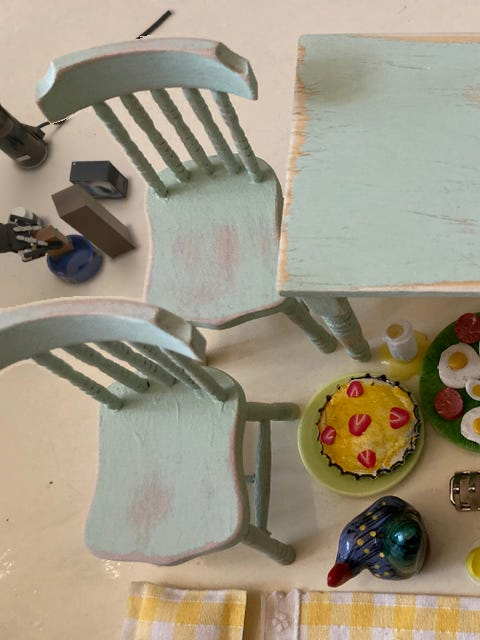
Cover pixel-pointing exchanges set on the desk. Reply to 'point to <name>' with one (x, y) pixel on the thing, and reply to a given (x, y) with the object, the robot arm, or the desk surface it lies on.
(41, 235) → the reddish-brown short block
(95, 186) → the small box
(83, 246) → the bowl
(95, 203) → the brown rectangular block
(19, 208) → the pill bottle
